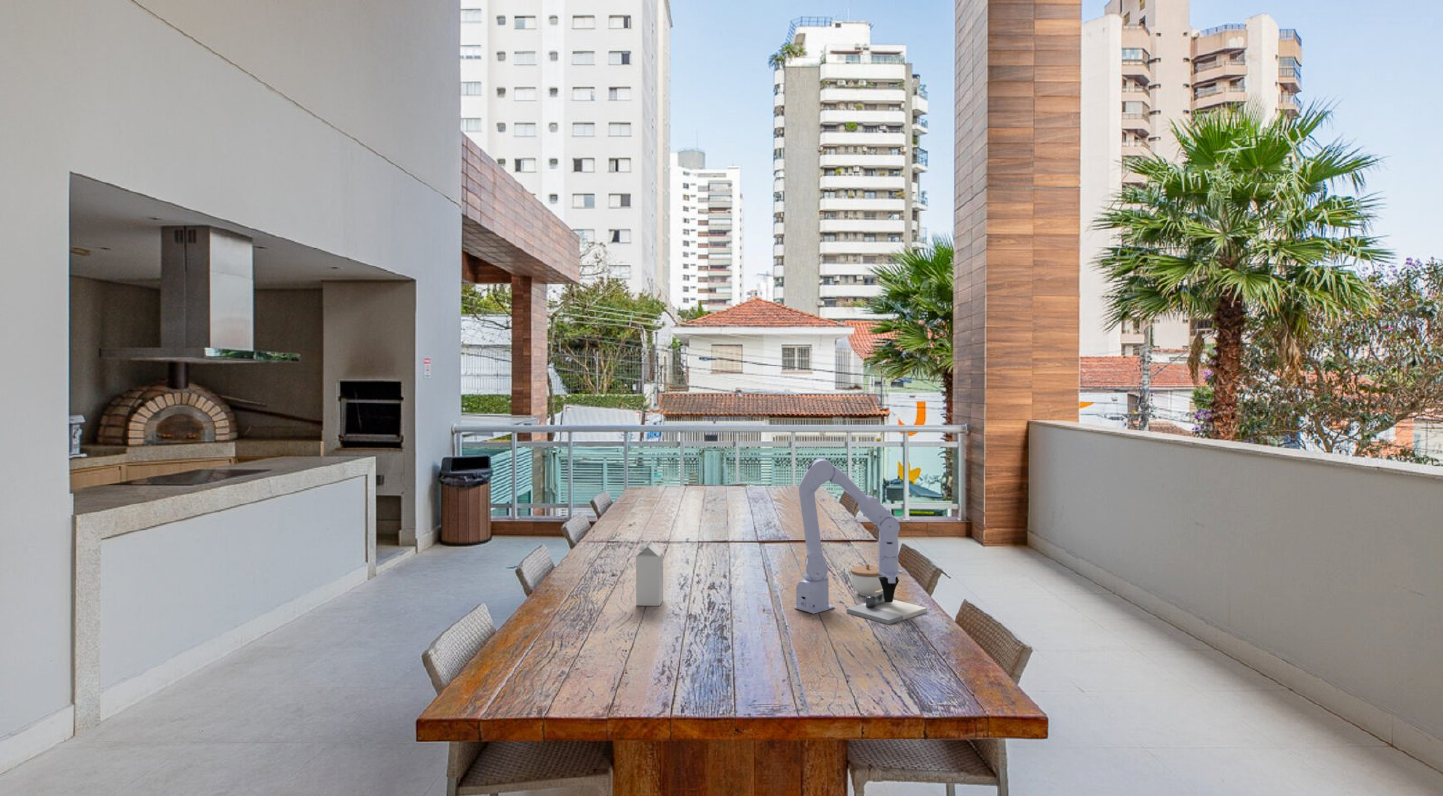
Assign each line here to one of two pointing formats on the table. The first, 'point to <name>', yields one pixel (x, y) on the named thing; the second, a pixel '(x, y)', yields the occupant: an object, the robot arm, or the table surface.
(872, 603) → the swing bar
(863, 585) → the lidded jar
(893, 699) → the table surface
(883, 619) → the door board
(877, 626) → the table surface
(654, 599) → the milk carton
